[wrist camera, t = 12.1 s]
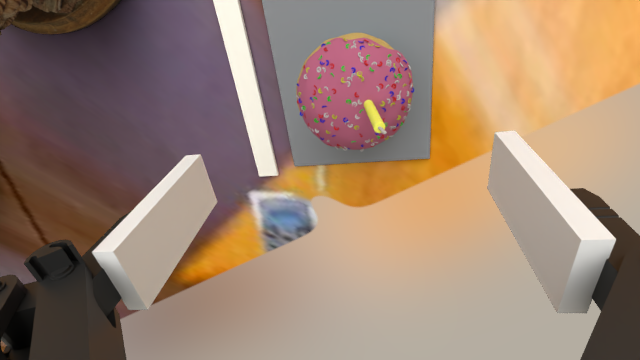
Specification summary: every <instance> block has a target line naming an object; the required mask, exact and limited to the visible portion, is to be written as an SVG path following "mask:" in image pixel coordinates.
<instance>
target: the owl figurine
mask: <svg viewBox="0 0 640 360" xmlns="http://www.w3.org/2000/svg"><path fill="white" fill-rule="evenodd" d="M120 1H121V0H0V30H2V29H5V28H6V27H7V26H9V25H10V24H12V25H14V26H15V27H18V28H20V29H23V30H26V31H30V32H33V33H40V34H61V33H68V32H73V31H76V30H80V29H83V28H85V27H88V26H90V25H92V24H93V23H95V22H97V21H98V20H100V19H101V18H102V17H104V16H105V15H107V13H108V12H110V11H111V10H113V8H115V7H116V6H117V4H119V2H120ZM0 35H2V34H1V31H0Z"/></svg>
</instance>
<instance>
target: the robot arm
mask: <svg viewBox="0 0 640 360" xmlns="http://www.w3.org/2000/svg"><path fill="white" fill-rule="evenodd" d="M488 180H489V181H488V187H487V188H488V190H489V192H490V194H491V196H492V198H493V199H494V201H495V203H496V205H497V207H498V208H499V210H500V212H501V214H502V215H503V217H504V219H505V221H506V223H507V224H508V226H509V228H510V230H511V232H512V233H513V235H514V237H515V239H516V240H517V242H518V244H519V246H520V248H521V249H522V251H523V253H524V255H525V256H526V258H527V260H528V262H529V263H530V265H531V267H532V269H533V271H534V273H535V274H536V276H537V278H538V279H539V282H540V283H541V285H542V287H543V289H544V291H545V292H546V294H547V296H548V298H549V299H550V301H551V303H552V305H553V307H554V308H555V310H556V312H557V313H587V311H588V309H589V306H590V304H591V301H592V299H593V300H594V301H595V303H596V304H597V306H598V307H599V308H600V310H601V313H600V316H599V318H598V320H597V323H596V325H595V327H594V330H593V332H592V334H591V336H590V339H589V341H588V343H587V346H586V348H585V351H584V353H583V355H582V357H581V360H640V236H639V235H638V234H637V233H636V232H635V231H634V230H633V229H632V228H631V227H630V226H629V225H628V224H627V223H626V222H625V221H624V220H623V219H622V218H619V217H618V214H617V213H616V212H615V211H613V210H612V209H610V207H609V206H608V205H607V204H606V203H605V202H604V201H603V200H602V199H601V198H600V197H599V196H597V195H595V194H593V193H591V192H589V191H587V190H586V189H583V188H579V189H569V188H568V187H567V186H566V185H565V184H564V183H563V182H562V181H561V179H560V178H559V177H558V176H557V175H556V174H555V173H554V172H553V171H552V170H551V169H550V168H549V167H548V166H547V165H546V163H545V162H544V161H543V160H542V159H541V158H540V157H539V156H538V155H537V154H536V153H535V152H534V151H533V150H532V148H530V146H529V145H528V144H527V143H526V142H525V141H524V140H523V139H522V138H521V137H520V136H519V135H518V133H517V132H516V131H505V132H495V135H494V143H493V150H492V157H491V165H490V173H489V179H488ZM216 203H217V200H216V197H215V194H214V191H213V188H212V185H211V183H210V180H209V177H208V174H207V171H206V168H205V166H204V163H203V160H202V157H201V154H200V155H187V156H185V157H184V158H183V159H182V160H181V161H180V162H179V163H178V164H177V165H176V166H175V167H174V168H173V169H172V170H171V171H170V172H169V173H168V174H167V175H166V177H165V178H164V179H163V180H162V181H161V182H160V183H159V184H158V185H157V186H156V187H155V188H154V189H153V190H152V191H151V192H150V193H149V194H148V195H147V196H146V197H145V198H144V199H143V200H142V201H141V202H140V203H139V204H138V205H137V206H136V207H135V208H134V209H133V210H132V211H131V212H129V213H128V214H126V215H125V216H123V217H122V218H120V219H119V220H118V221H117V222H116V223H115V224H114V225H113V226H112V227H111V229H109V230H108V231H107V232H106V233H105V234H104V236H102V237H101V238H100V239H99V240H98V241H97V242H96V243H95V244H94V245H93V246H92V247H91V248H90V249H89V250H88V251H87V252H86V253H85V254H84V255H83V256H82V257H81V256H80V254H79V253H78V251H77V250H76V248H75V247H74V245H73V244H72V242H71V241H69V240H59V241H55V242H52V243H49V244H47V245H45V246H43V247H41V248H39V249H38V250H36V251H35V252H33V253H32V254H31V255H30V256H29V257H28V258H27V259H26V261H25V263H24V265H25V266H26V267H27V268H28V270H29V271H30V272H31V273H32V275H33V276H34V277H35V279H36V280H37V281H36V282H32V283H28V284H24V285H23V284H22V283H21V281H20V280H19V279H18V278H17V277H16V275H6V276H2V277H0V342H1V340H2V341H3V342H4V343H5V344H6V345H7V346H6V348H5V350H4V352H2V350H1V345H0V360H126V354H125V348H124V342H123V335H122V329H121V323H120V316H119V313H118V311H117V310H116V308H115V306H116V305H117V303H118V302H119V301H120V299H122V300H123V302H124V303H125V305H126V307H127V308H128V310H148V309H149V307H150V306H151V304H152V303H153V301H154V299H155V298H156V296H157V295H158V293H159V292H160V290H161V289H162V287H163V285H164V284H165V282H166V281H167V279H168V278H169V276H170V275H171V273H172V271H173V270H174V268H175V267H176V265H177V264H178V262H179V261H180V259H181V257H182V256H183V254H184V253H185V251H186V250H187V248H188V247H189V245H190V243H191V242H192V240H193V239H194V237H195V236H196V234H197V233H198V231H199V229H200V228H201V226H202V225H203V223H204V222H205V220H206V219H207V217H208V215H209V214H210V212H211V211H212V209H213V208H214V206H215V205H216Z"/></svg>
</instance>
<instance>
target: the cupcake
mask: <svg viewBox="0 0 640 360" xmlns="http://www.w3.org/2000/svg"><path fill="white" fill-rule="evenodd" d="M413 92H414V88H413V81H412V72H411V67H410V66H409V64H408V62H407V60H406V59H405V57H404V56H403V55H402V54H401V53H400V52H399V51H397V50H394V49H393V48H392V47H391V46H390V45H389V44H388V43H386V42H385V41H383V40H381V39H379V38H376V37H373V36H371V35H368V34H365V33H350V34H345V35H342V36H339V37H336V38H331V39H328V40H326V41H324V42H323V43H322V44H321V45H320V46H319V47H318V48H316V49H315V50H314V51H313V52H312V53H311V54H310V55H309V57H308V58H307V59H306V60H305V62H304V64H303V66H302V69H301V72H300V74H299V77H298V80H297V86H296V97H297V104H298V108H299V111H300V116H302V117H303V119H304V121H305V123H306V125H307V127H308V128H309V129H310V130H311V132H312V133H313V134H314V135H316V136H317V137H318V138H319V139H320V140H321V141H322V142H324V143H325V144H327V145H329V146H332V147H335V148H337V149H338V148H342V149H343V150H344V151H346V150H347V149H350V150H360V149H362V150H360V151H363V150H364V149H367V148H370V147H374V146H375V145H377V144H379V143H381V142H383V141H385V140H387V139H388V138H390V137H393V135H394V134H395V133H396V132H397V131H398V130H399V128H400V127H401V126H402V125H403V123H404V121H405V119H406V117H407V115H408V112H409V110H410V106H411V101H412V95H413ZM345 149H346V150H345Z"/></svg>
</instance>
